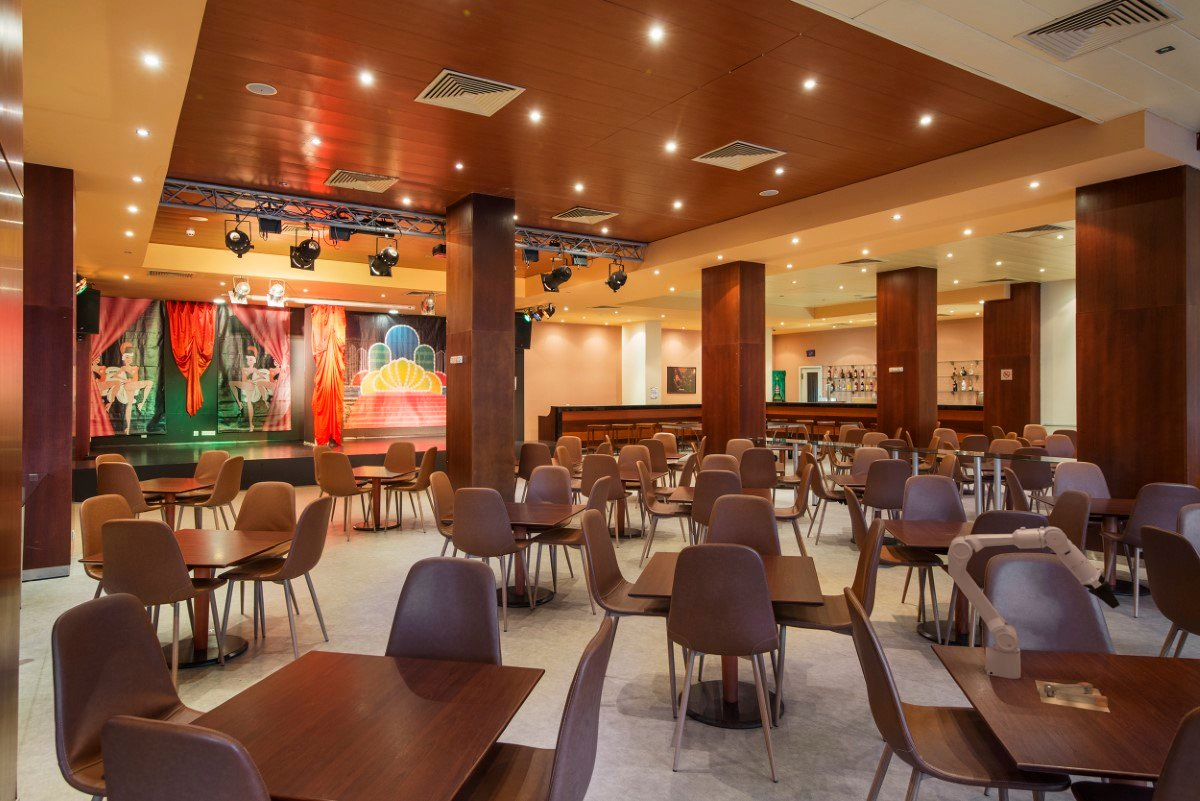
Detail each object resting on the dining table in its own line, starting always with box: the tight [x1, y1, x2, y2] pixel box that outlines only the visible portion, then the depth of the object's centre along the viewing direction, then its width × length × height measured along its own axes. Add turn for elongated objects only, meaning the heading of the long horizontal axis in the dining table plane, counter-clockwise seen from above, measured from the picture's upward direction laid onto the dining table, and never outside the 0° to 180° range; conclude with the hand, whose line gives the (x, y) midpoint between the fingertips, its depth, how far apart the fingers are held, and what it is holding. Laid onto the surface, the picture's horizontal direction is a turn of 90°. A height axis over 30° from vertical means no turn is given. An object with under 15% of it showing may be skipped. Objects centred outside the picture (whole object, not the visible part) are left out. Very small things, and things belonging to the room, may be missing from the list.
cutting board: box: [1035, 679, 1111, 713], centre depth 196 cm, size 15×18×1 cm
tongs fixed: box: [1037, 684, 1109, 708], centre depth 193 cm, size 15×4×3 cm, turn 63°
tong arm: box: [1053, 681, 1094, 694], centre depth 197 cm, size 12×2×2 cm, turn 93°
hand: (1113, 603), depth 200 cm, fingers open, 7 cm apart
